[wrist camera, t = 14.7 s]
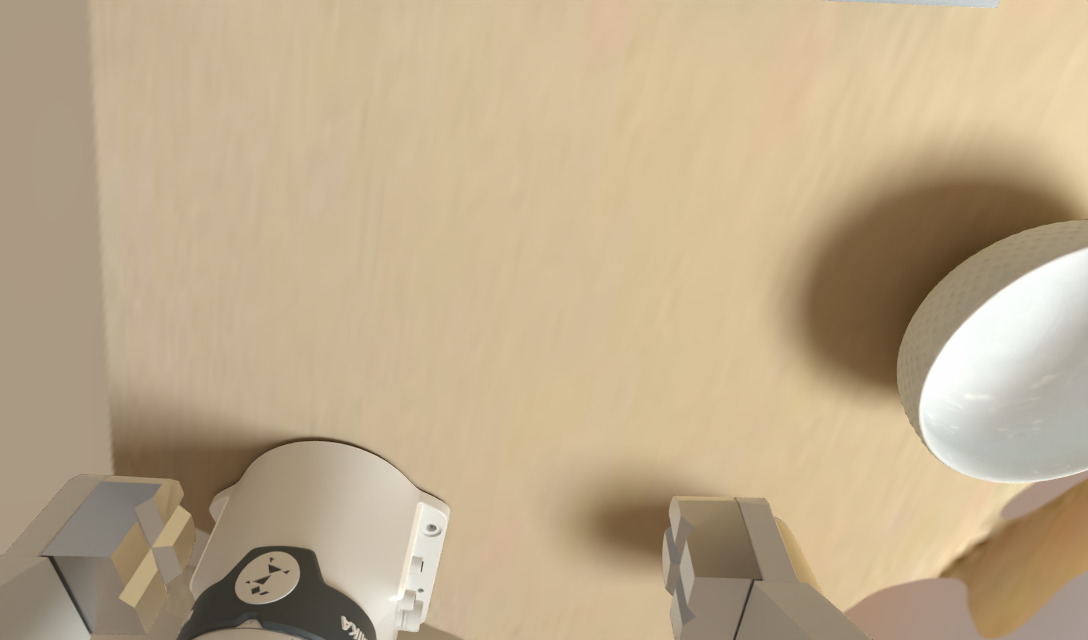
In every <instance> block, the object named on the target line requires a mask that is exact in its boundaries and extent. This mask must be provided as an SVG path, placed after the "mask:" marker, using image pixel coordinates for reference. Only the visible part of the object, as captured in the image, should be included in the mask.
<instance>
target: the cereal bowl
mask: <svg viewBox="0 0 1088 640" xmlns="http://www.w3.org/2000/svg"><path fill="white" fill-rule="evenodd" d="M897 385H898V392H899V395H900V397H901V403H902V405H903V407H904V410H905V414H906V415H907V417H908V418H909V421H910V424H911V425H912V426H913V427H914V429H915V432H916V433H917V435H918V436H919V437H920V438H921V441H922V443H923V444H924V445H925V446H926V447H927V448H928V450H929V451H930V452H931V453H932V454H933V455H934V456H935V457H936V458H937V459H938V460H940V461H941V462H942V463H943V464H945V465H946V466H948V467H950V468H951V469H953V470H955V471H957V472H959V473H962V474H964V475H967V476H970V477H973V478H977V479H981V480H985V481H991V482H999V483H1028V482H1037V481H1045V480H1051V479H1056V478H1060V477H1065V476H1069V475H1072V474H1076V473H1079V472H1083V471H1086V470H1088V220H1087V219H1084V220H1070V221H1066V222H1057V223H1052V224H1049V225H1042V226H1038V227H1036V228H1031V229H1028V230H1024V231H1022V232H1020V233H1018V234H1014V235H1011V236H1009V237H1007V238H1004V239H1003V240H1000V241H998V242H995V243H993V244H992V245H991V246H988V247H986V248H984V249H982V250H981V251H979V252H977V253H976V254H975V255H973V256H970V257H969V258H968V259H967V260H965V261H964V262H963V263H962V264H960V265H958V266H957V267H956V268H955V269H954V270H952V271H951V272H949V274H948V275H947V276H945V277H944V278H943V280H941V281H940V282H939V283H938V285H936V286H935V287H934V288H933V290H932V291H931V292H929V294H928V296H927V297H926V298H925V300H924V301H923V302H922V303H921V304H920V306H919V307H918V310H917V311H916V312H915V314H914V315H913V317H912V319H911V322H910V323H909V325H908V327H907V329H906V332H905V334H904V336H903V339H902V343H901V345H900V349H899V356H898V359H897Z"/></svg>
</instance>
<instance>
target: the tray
mask: <svg viewBox="0 0 1088 640" xmlns="http://www.w3.org/2000/svg"><path fill="white" fill-rule="evenodd" d="M829 1H851V2H873V3H895V4H917V5H940V6H962V7H984V8H997V6H998V3H999V0H829Z"/></svg>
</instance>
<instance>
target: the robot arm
mask: <svg viewBox="0 0 1088 640" xmlns="http://www.w3.org/2000/svg"><path fill="white" fill-rule="evenodd" d="M184 496H185V495H184V492H183V490H182V488H181V485H180V483H179V481H177V480H173V479H163V478H147V477H130V476H113V475H111V476H105V475H88V474H80V475H78V476H76V477H74V478H72V479H70V480H69V481H68V482H67V483H66V484H65V486H64V487H63V488H62V489H61V490H60V491H59V492H58V494H57V495H56V496H55V497H54V498H53V499H52V500H51V501H50V502H49V504H48V505H47V506H46V507H45V508H44V509H43V510H42V512H41V513H40V514H39V515H38V516H37V517H36V519H35V520H34V521H33V522H32V523H31V524H30V525H29V526H28V528H27V529H26V530H25V531H24V532H23V533H22V534H21V535H20V537H19V538H18V539H17V540H16V541H15V542H14V543H13V545H12V546H11V547H10V548H9V549H8V550H7V551H6V553H5V554H4V555H0V640H89V639H90V638H91V635H90V634H97V635H99V634H100V635H101V634H106V635H107V634H108V635H116V634H117V635H146V634H147V633H148V631H149V630H150V628H151V626H152V624H153V622H154V621H155V619H156V617H157V616H158V614H159V612H160V611H161V609H162V607H163V605H164V604H165V602H166V600H167V598H168V592H167V588H166V584H167V583H168V582H170V581H171V580H172V579H174V578H175V577H177V576H178V575H179V574H181V573H182V572H183V570H184V568H185V567H186V565H187V563H188V561H189V559H190V557H191V554H192V550H193V546H194V542H195V524H194V521H193V518H192V515H191V514H190V513H189V512H188V511H186V510H185V509H184V508H182V507H181V506H180V505H179V504H180V502H181V500H182V499H183V497H184ZM209 511H210V514H211V516H212V518H213V519H214V521H215V522H216V525H215V527H214V529H213V531H212V533H211V536H210V538H209V540H208V542H207V545H206V547H205V549H204V551H203V554H202V556H201V558H200V561H199V563H198V565H197V567H196V569H195V572H194V574H193V576H192V579H191V582H190V591H191V592H192V593H193V597H194V599H195V601H196V602H195V604H194V605H193V607H192V609H191V611H190V613H189V615H188V616H186V618H185V619H184V621H183V623H182V625H181V627H180V630H179V632H178V634H177V638H176V640H396V638H397V633H398V630H403V631H404V630H406V631H410V632H416V631H419V626H420V624H421V623H423V622H424V620H425V618H426V614H427V611H428V608H429V604H430V599H431V595H432V591H433V586H434V582H435V578H436V574H437V569H438V565H439V561H440V556H441V552H442V548H443V543H444V539H445V535H446V531H447V526H448V522H449V518H450V509H449V507H448V506H447V505H446V504H445V503H444V502H442V501H441V500H439V499H437V498H435V497H433V496H431V495H429V494H427V493H425V492H422V491H420V490H419V489H418V488H416V487H415V486H414V485H413V484H412V483H411V482H410V481H409V480H408V479H407V478H406V477H405V476H404V475H403V474H402V473H401V472H400V471H399V470H397V469H396V468H395V467H394V466H392V465H391V464H389V463H388V462H386V461H385V460H383V459H381V458H379V457H378V456H376V455H374V454H371V453H369V452H367V451H364V450H362V449H359V448H356V447H352V446H349V445H344V444H340V443H334V442H325V441H304V442H296V443H291V444H286V445H283V446H279V447H277V448H274V449H272V450H270V451H268V452H266V453H264V454H263V455H261V456H260V457H258V458H257V459H256V460H255V461H254V462H253V463H252V464H251V465H250V466H249V467H248V468H247V470H246V472H245V473H244V475H243V476H242V478H241V479H240V480H239V481H238V482H237V483H236V484H235V485H233V486H231V487H229V488H227V489H225V490H223V491H221V492H219V493H218V494H217V495H216V496H215V497H214V498H213V501H212V503H211V505H210V508H209ZM669 517H670V522H671V526H670V527H669V528H668V529H666V530H665V533H664V539H663V548H662V566H663V576H664V583H665V589H666V590H667V591H668V592H669V593H670V594H671V595H672V596H673V600H672V605H671V609H670V618H671V623H672V629H673V634H674V640H873V639H871V638H870V637H869V636H868V635H867V634H866V633H865V632H863V630H861V629H860V628H859V627H858V626H857V625H856V624H855V623H853V622H852V621H851V620H850V619H849V618H848V617H847V616H846V615H844V614H843V613H842V612H841V611H840V610H839V609H838V608H837V607H835V606H834V605H833V604H832V603H831V602H830V601H829V600H828V599H826V598H825V597H824V596H823V595H822V594H821V593H820V592H819V591H817V590H816V589H815V588H814V587H813V586H812V585H811V584H810V583H805V582H799V580H798V577H797V575H796V572H795V570H794V567H793V564H792V562H791V559H790V557H789V554H788V551H787V549H786V546H785V544H784V541H783V538H782V536H781V533H780V531H779V528H778V525H777V523H776V520H775V518H774V515H773V512H772V510H771V507H770V505H769V503H768V502H767V501H766V500H765V499H764V498H737V497H734V498H731V497H700V496H673V498H672V500H671V503H670V508H669ZM432 524H433V525H432Z"/></svg>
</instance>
